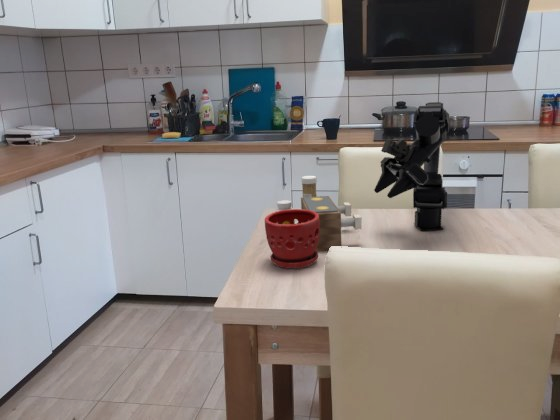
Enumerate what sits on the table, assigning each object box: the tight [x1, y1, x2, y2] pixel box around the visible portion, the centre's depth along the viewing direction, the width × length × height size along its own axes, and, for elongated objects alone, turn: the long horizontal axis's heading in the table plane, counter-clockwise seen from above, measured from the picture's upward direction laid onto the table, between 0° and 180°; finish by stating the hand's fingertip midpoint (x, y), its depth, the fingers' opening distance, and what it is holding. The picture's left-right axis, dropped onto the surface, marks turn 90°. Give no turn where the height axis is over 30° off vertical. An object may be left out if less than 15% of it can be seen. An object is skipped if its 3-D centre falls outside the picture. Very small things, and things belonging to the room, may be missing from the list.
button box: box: [300, 195, 342, 253], centre depth 146 cm, size 8×19×10 cm, turn 4°
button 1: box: [335, 202, 352, 217], centre depth 152 cm, size 10×3×3 cm, turn 94°
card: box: [302, 195, 338, 213], centre depth 145 cm, size 7×16×1 cm, turn 4°
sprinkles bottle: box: [301, 175, 318, 198], centre depth 167 cm, size 5×5×13 cm
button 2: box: [341, 213, 363, 231], centre depth 140 cm, size 10×3×3 cm, turn 94°
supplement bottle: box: [274, 199, 296, 224], centre depth 152 cm, size 5×5×10 cm
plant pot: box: [264, 208, 320, 269], centre depth 130 cm, size 13×13×12 cm
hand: (381, 194), depth 139 cm, fingers open, 9 cm apart
